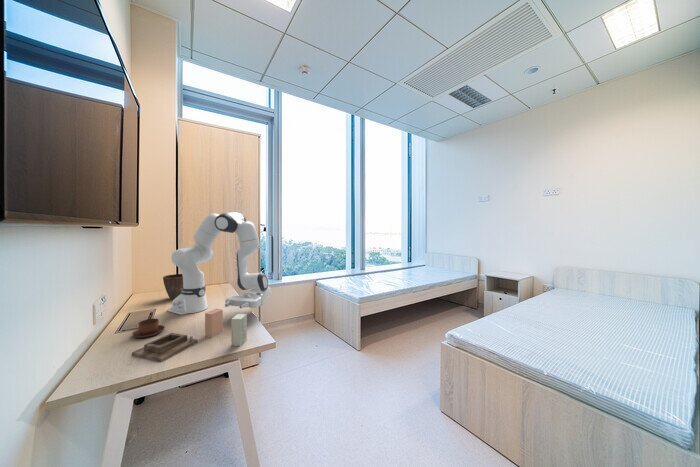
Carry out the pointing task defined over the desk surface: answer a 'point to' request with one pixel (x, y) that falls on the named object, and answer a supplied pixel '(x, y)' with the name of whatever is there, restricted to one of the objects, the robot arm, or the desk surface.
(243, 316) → the skincare box
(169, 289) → the plant pot
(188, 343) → the keyed holder
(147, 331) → the cup and saucer
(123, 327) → the desk surface
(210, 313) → the keyed block
